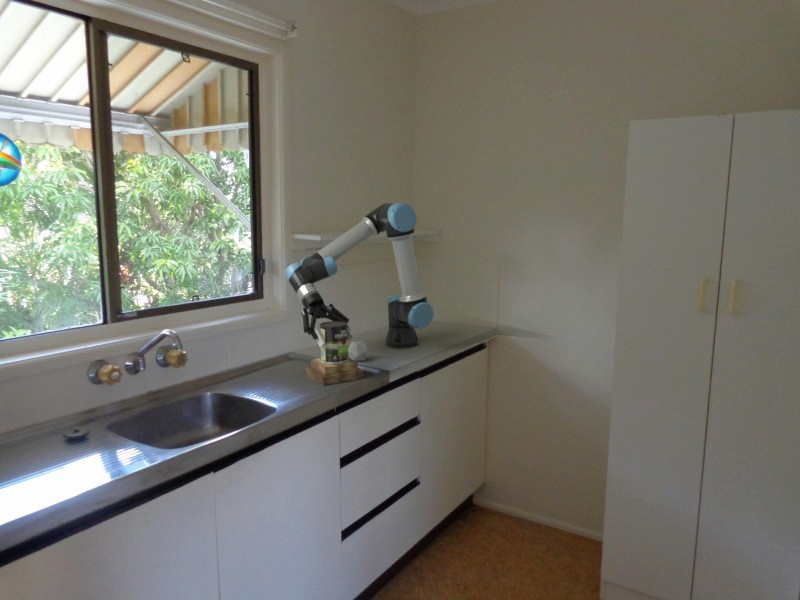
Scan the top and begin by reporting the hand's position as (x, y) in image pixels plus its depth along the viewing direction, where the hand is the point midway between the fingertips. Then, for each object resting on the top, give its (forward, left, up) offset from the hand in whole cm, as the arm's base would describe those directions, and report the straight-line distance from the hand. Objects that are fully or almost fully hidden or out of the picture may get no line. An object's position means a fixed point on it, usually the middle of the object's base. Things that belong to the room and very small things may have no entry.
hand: (337, 342), depth 215 cm
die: (-17, -18, -14) cm, 29 cm away
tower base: (+1, -2, -14) cm, 14 cm away
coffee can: (0, -2, -8) cm, 8 cm away
